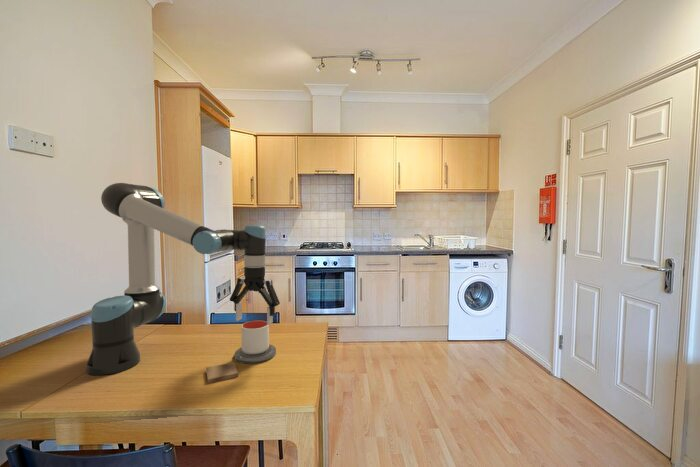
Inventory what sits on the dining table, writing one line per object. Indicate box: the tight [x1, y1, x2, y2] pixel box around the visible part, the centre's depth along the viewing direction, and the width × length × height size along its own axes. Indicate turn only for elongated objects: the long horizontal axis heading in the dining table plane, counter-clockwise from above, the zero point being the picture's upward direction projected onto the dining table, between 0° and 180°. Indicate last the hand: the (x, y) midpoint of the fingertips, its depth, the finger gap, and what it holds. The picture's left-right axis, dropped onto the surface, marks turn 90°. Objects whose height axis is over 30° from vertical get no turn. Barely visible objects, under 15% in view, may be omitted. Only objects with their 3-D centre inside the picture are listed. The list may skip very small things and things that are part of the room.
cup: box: [240, 320, 270, 355], centre depth 120 cm, size 10×10×10 cm
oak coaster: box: [205, 362, 239, 384], centre depth 105 cm, size 9×9×1 cm
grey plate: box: [234, 343, 277, 365], centre depth 120 cm, size 15×15×2 cm
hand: (254, 321), depth 119 cm, fingers open, 13 cm apart
